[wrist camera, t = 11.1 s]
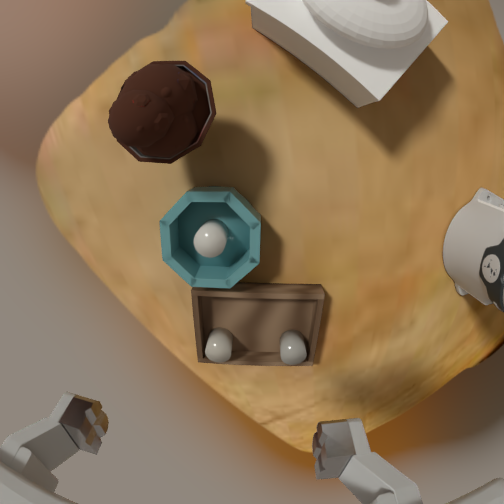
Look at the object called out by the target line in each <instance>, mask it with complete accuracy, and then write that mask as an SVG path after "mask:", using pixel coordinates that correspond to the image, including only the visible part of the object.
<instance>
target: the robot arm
mask: <svg viewBox="0 0 504 504" xmlns="http://www.w3.org/2000/svg"><path fill="white" fill-rule="evenodd" d="M443 261H444V266H445V269H446V271H447V273H448V274H449V276H450V277H451V278H452V279H453V280H454V282H455V287H456V291H457V293H459V294H460V295H466V294H470V295H472V296H473V297H474V298H476V299H477V300H479V301H480V302H481V303H483V304H484V305H488V304H494V305H495V306H496V307H497V308H498V309H499V310H501V311H502V312H504V200H503V199H502V198H500V197H498V196H497V195H495V194H493V193H492V192H490V191H488V190H487V189H485V188H480V189H479V190H478V191H477V193H476V194H475V196H474V197H473V199H472V200H471V201H470V202H469V203H468V204H466V205H465V206H464V207H463V208H461V209H460V210H459V211H458V213H457V214H456V215H455V217H454V218H453V220H452V222H451V223H450V225H449V228H448V230H447V233H446V236H445V240H444V246H443ZM101 408H102V405H101V403H100V402H99V401H96V400H93V399H89V398H86V397H82V396H79V395H76V394H73V393H70V392H66V393H64V395H63V396H62V398H61V399H60V401H59V402H58V404H57V405H56V407H55V409H54V410H53V412H52V413H51V415H50V417H49V418H44V419H42V420H40V421H38V422H36V423H34V424H32V425H30V426H28V427H26V428H24V429H22V430H20V431H18V432H16V433H14V434H12V435H10V436H8V437H7V438H6V440H5V441H4V443H3V445H2V446H1V448H0V504H78V503H75V502H73V501H70V500H69V499H66V498H64V497H62V496H60V495H58V494H56V493H54V491H55V489H56V487H57V484H58V479H57V478H56V477H55V476H54V475H53V474H52V473H51V471H52V470H53V469H55V468H56V467H57V466H59V465H60V464H62V463H63V462H64V461H66V460H67V459H68V458H70V457H71V456H72V455H74V454H75V453H76V452H78V451H79V449H81V450H84V451H87V452H90V453H93V454H97V453H98V450H99V448H100V446H101V444H102V442H101V438H100V437H102V436H103V435H105V434H106V432H107V429H108V423H109V422H108V417H107V415H106V414H105V413H104V412H103V411H102V410H101ZM312 447H313V456H314V457H316V459H317V460H316V463H315V472H316V479H328V478H337V477H339V479H340V480H341V481H342V483H343V484H344V485H345V486H346V487H347V488H348V489H349V490H350V491H351V492H352V493H353V494H354V495H355V496H356V498H357V499H358V500H359V501H360V502H361V503H362V504H423V503H422V499H421V496H420V493H419V490H418V487H417V484H416V483H414V482H413V481H412V480H410V479H409V478H408V477H406V476H405V475H404V474H402V473H401V472H400V471H398V470H397V469H396V468H395V467H393V466H392V465H391V464H389V463H388V462H387V461H385V460H384V459H383V458H382V457H380V456H379V455H378V454H377V453H375V452H371V451H370V447H369V443H368V440H367V437H366V433H365V430H364V427H363V424H362V420H361V419H360V418H353V419H342V420H332V421H321V422H319V423H318V425H317V432H316V433H315V434H314V437H313V444H312ZM446 504H504V479H503V478H496V479H494V480H492V481H490V482H488V483H486V484H485V485H483V486H481V487H479V488H477V489H475V490H474V491H471V492H470V493H468V494H465V495H463V496H461V497H459V498H457V499H455V500H453V501H451V502H448V503H446Z"/></svg>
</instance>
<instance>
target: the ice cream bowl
mask: <svg viewBox="0 0 504 504" xmlns="http://www.w3.org/2000/svg"><path fill="white" fill-rule="evenodd" d="M109 114H110V115H109V119H108V123H109V128H110V129H111V131H112V134H113V137H115V138H116V139H117V141H118V142H119V143H120V144H121V145H122V146H123V147H124V148H125V149H126V150H127V151H128V152H129V153H130V154H132V155H133V156H134V157H135V158H136V159H137V160H138V161H140V162H155V163H168V164H171V163H173V162H174V161H176V160H178V159H179V158H181V157H182V156H184V155H186V154H187V153H189V152H191V151H192V150H194V149H196V148H198V147H199V146H201V144H202V142H203V140H204V138H205V136H206V134H207V132H208V130H209V127H210V125H211V123H212V121H213V119H214V117H215V115H216V109H215V103H214V98H213V92H212V87H211V81H210V80H209V79H208V78H206V77H205V76H204V75H203V74H201V73H200V72H199V71H198V70H196V69H195V68H194V67H193V66H191V65H190V64H189V63H188V62H186V61H153V62H151V63H150V64H148V65H147V66H145V67H143V68H142V69H140V70H139V71H136V72H134V73H133V74H132V75H131V76H129V77H128V79H127V80H125V82H124V84H123V86H122V87H121V91H120V93H119V95H118V98H117V100H116V101H115V102H113V105H112V107H111V108H110V110H109Z"/></svg>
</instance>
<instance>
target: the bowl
mask: <svg viewBox="0 0 504 504" xmlns="http://www.w3.org/2000/svg"><path fill="white" fill-rule="evenodd" d="M210 219H218V220H221V221H222V222H224V223H225V224H226V226H227V227H228V230H229V236H228V239H227V242H226V245H225V248H224V250H223V252H222V253H221V254H220V255H218V256H216V257H212V258H209V257H205V256H202V255H201V254H199V253H198V252H197V250H196V249H195V246H194V237H195V235H196V233H197V232H198V230H199V229H200V227H201V226H202V225H203V224H204V223H205V222H206V221H207V220H210ZM260 229H261V215H260V214H259V213H258V212H257V211H256V210H255V209H254V208H253V206H252V205H251V204H250V203H249V201H248V200H247V199H246V198H245V197H243V196H242V195H241V194H240V193H239V192H238V191H237V190H236V189H235V188H234V187H221V186H208V187H193V188H192V189H190V190H189V191H187V192H186V193H185V194H184V195H183V196H182V197H181V198H180V199H179V201H178V202H177V203H176V204H175V205H174V206H173V207H172V208H171V209H170V210H169V211H168V212H167V214H166V215H165V216H164V217H163V218H162V219H161V220H160V234H161V247H162V258H163V261H164V262H165V263H166V264H167V265H169V266H170V267H171V268H172V269H173V270H174V271H175V272H176V273H177V274H178V275H179V276H180V277H181V278H182V279H184V280H185V281H186V282H187V283H188V284H189V285H190V286H191V287H209V288H231V287H232V286H234V285H235V284H236V283H237V282H238V281H239V280H241V279H242V278H243V277H244V276H245V275H246V274H248V273H249V272H250V271H251V270H252V269H253V268H255V267H256V266H257V265H258V264H259V260H260Z"/></svg>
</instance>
